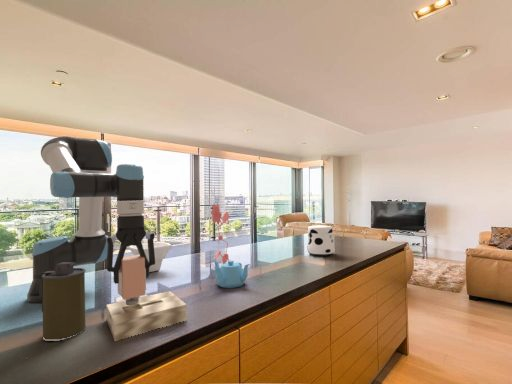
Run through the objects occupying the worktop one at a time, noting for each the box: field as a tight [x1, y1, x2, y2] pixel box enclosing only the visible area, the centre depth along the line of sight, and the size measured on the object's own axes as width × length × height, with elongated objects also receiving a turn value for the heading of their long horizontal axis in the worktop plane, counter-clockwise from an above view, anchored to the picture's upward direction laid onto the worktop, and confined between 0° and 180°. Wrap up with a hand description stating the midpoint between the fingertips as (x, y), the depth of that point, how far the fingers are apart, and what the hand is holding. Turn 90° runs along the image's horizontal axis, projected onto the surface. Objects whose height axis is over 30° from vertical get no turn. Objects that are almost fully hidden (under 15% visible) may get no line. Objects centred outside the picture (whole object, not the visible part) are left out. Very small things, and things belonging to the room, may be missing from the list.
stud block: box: [119, 254, 146, 305], centre depth 84 cm, size 6×7×14 cm
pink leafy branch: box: [207, 203, 231, 268], centre depth 161 cm, size 15×26×35 cm, turn 32°
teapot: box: [212, 258, 251, 289], centre depth 121 cm, size 15×15×10 cm
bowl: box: [128, 241, 172, 273], centre depth 147 cm, size 19×19×14 cm
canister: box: [41, 262, 87, 339], centre depth 80 cm, size 11×10×20 cm
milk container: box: [306, 224, 336, 257], centre depth 178 cm, size 17×17×18 cm
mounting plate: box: [106, 290, 188, 342], centre depth 86 cm, size 20×16×5 cm
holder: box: [114, 292, 148, 303], centre depth 98 cm, size 10×10×3 cm
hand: (132, 291), depth 84 cm, fingers closed on stud block, 6 cm apart
